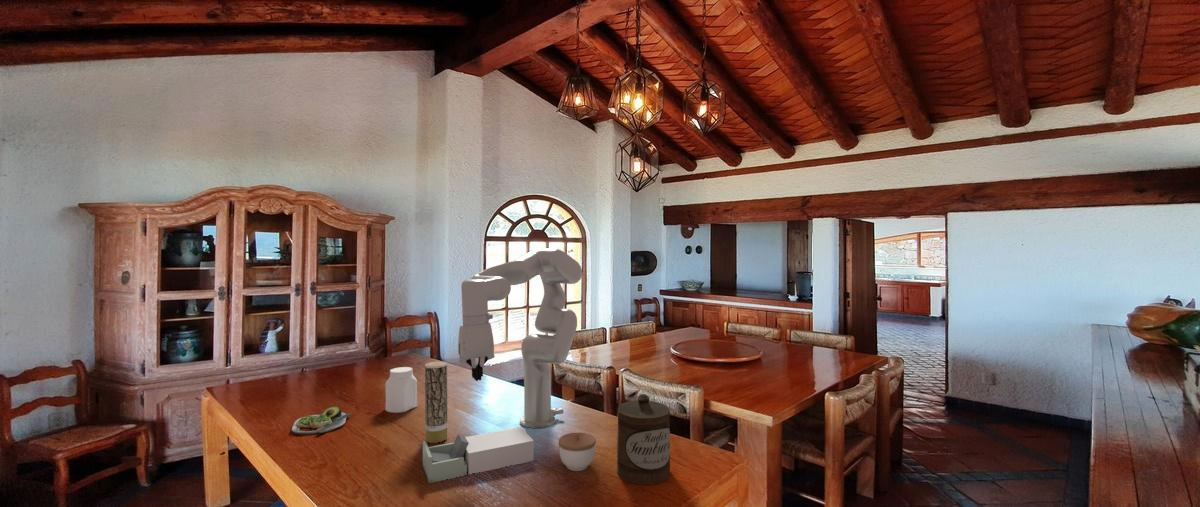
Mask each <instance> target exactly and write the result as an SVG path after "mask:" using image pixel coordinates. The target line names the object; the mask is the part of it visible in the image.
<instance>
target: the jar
mask: <svg viewBox="0 0 1200 507" xmlns="http://www.w3.org/2000/svg"><path fill="white" fill-rule="evenodd" d="M384 385H385V386H384V387H385V412H387V413H393V414H394V413H395V414H397V413H405V412H407V411H409V410H411V409H412V410H413V409H414V408H417V407H418V380H417V378H416V377H415V375H414V373H413V367H409V366H402V367H394V368H391V369H390V370H389V378H388V379H387V380H386V382H385V384H384Z"/></svg>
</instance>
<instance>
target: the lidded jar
mask: <svg viewBox="0 0 1200 507" xmlns="http://www.w3.org/2000/svg"><path fill="white" fill-rule="evenodd" d="M596 443H597V441H596V437H595V436H594V435H592V434H590V433H585V432H570V433H566V434H564V435H562V436H560V437H559V439H558V452H559V453H558V454H559V458H560V460H561V462H562V463H563V465H564V466H565V467H566V468H567V469H568V470H570V471H572V472H573V471H574V472H580V471H584V470H586V469H587V468H588V466H589V465H590V464H591V463H592V461H593V460H594V457H595V454H596Z"/></svg>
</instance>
